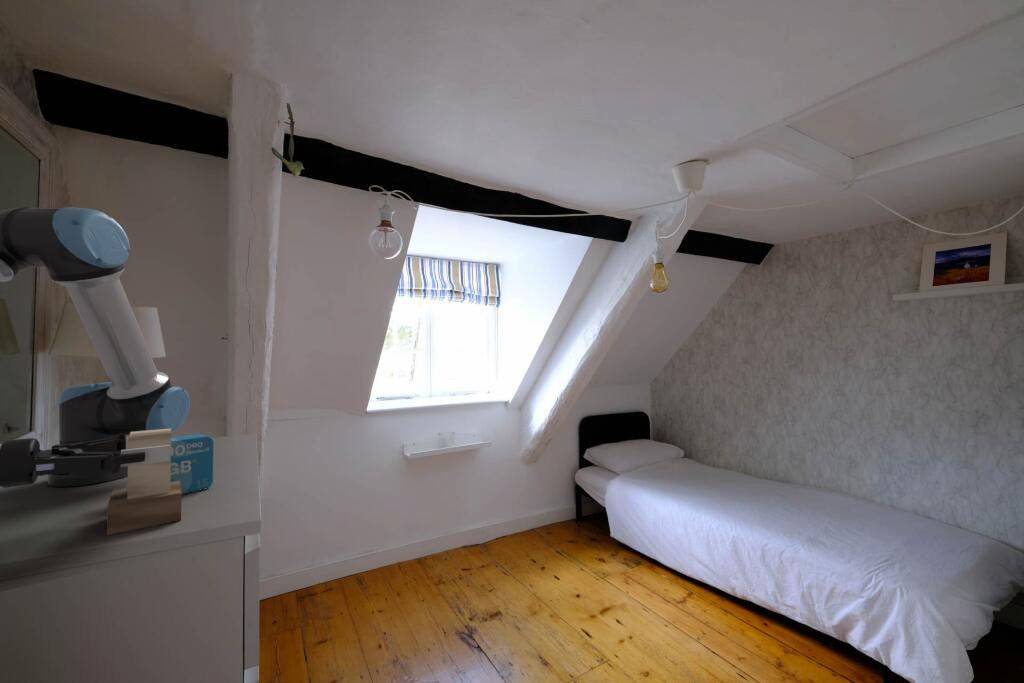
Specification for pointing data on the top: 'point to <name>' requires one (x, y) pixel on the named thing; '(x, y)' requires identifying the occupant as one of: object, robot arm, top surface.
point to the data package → (192, 462)
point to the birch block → (149, 465)
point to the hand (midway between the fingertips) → (169, 446)
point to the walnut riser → (143, 509)
